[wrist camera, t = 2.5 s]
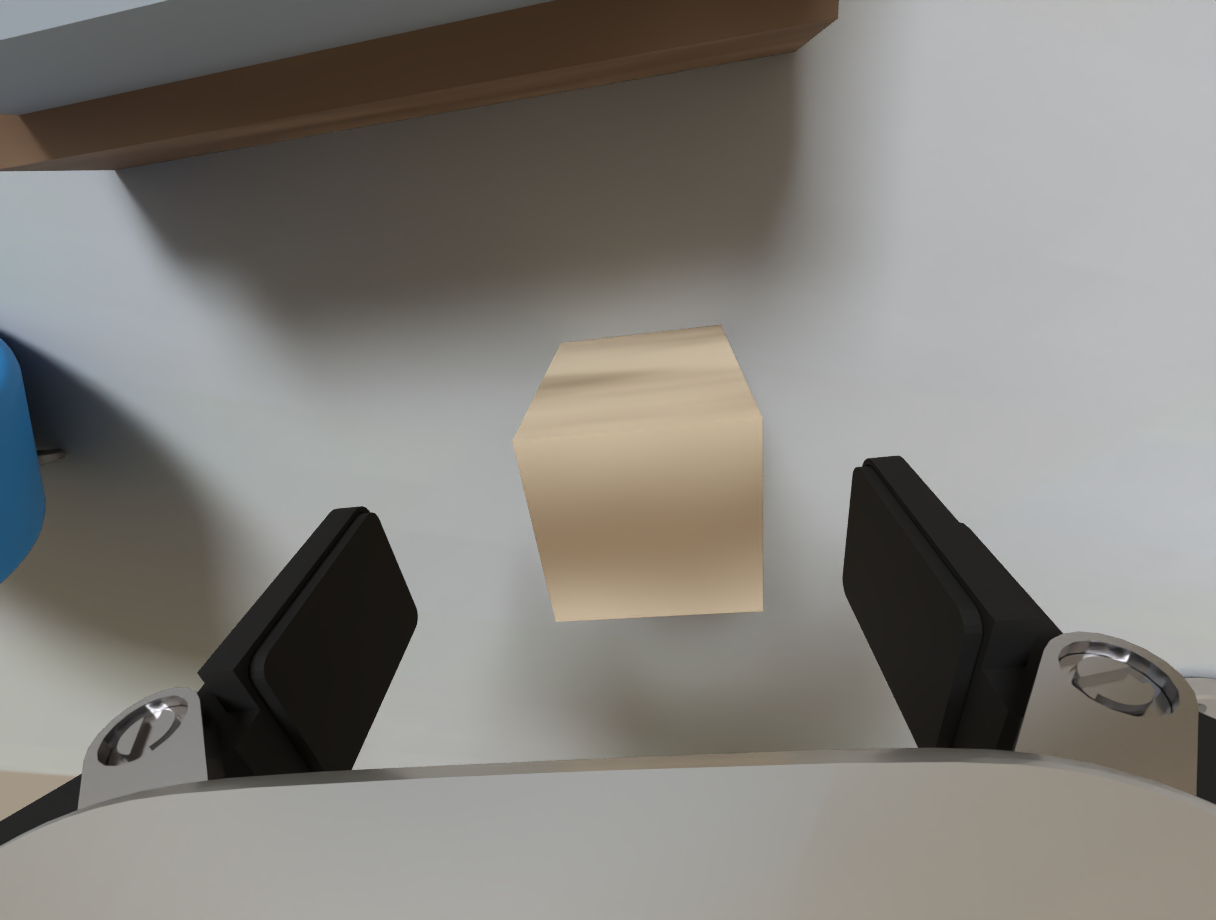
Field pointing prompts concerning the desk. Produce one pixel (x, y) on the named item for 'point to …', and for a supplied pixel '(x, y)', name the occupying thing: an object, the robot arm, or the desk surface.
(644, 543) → the beech block
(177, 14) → the slate slab
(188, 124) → the walnut slab
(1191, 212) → the desk surface
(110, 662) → the desk surface
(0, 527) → the alarm clock
